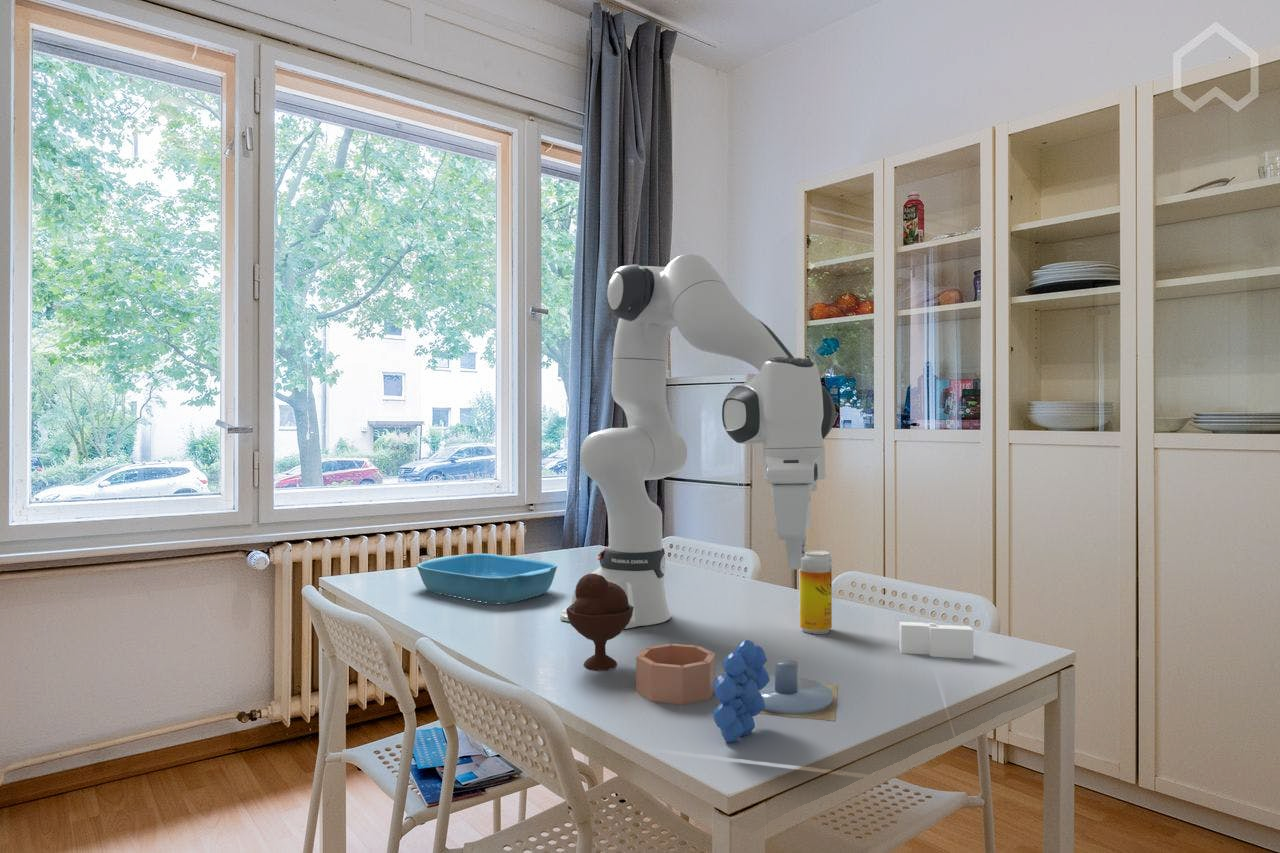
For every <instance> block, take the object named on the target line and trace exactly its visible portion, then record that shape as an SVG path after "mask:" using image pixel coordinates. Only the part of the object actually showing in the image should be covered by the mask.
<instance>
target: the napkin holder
mask: <svg viewBox="0 0 1280 853" xmlns="http://www.w3.org/2000/svg"><path fill="white" fill-rule="evenodd" d="M898 625H899V626H898V628H899V630H898V632H899V636H898V637H899V638H898V639H899V641H898V642H899V643H898V644H899V648H898V649H899V651H900V653H901V654H912V655H929V657H934V658H935V657H936V658H952V659H953V658H956V659H972V660H973V659H974V629H973V628H972V627H971V626H970V625H945V624H937V623H935V622H928V623H927V622H916V621H915V622H914V621H913V622H911V621H899V622H898Z"/></svg>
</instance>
